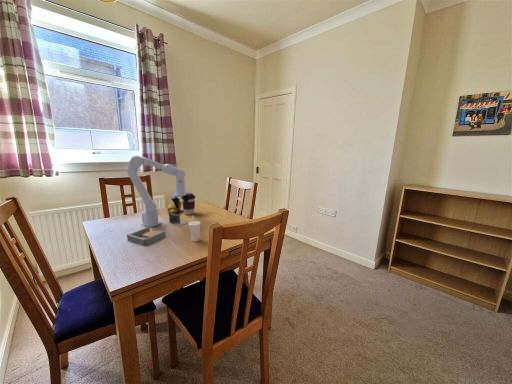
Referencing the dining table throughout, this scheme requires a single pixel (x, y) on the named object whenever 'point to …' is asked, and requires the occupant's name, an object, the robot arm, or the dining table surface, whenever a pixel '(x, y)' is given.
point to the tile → (150, 234)
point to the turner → (176, 220)
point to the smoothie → (194, 229)
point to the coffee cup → (189, 205)
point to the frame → (135, 238)
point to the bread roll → (174, 208)
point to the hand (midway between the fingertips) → (181, 206)
